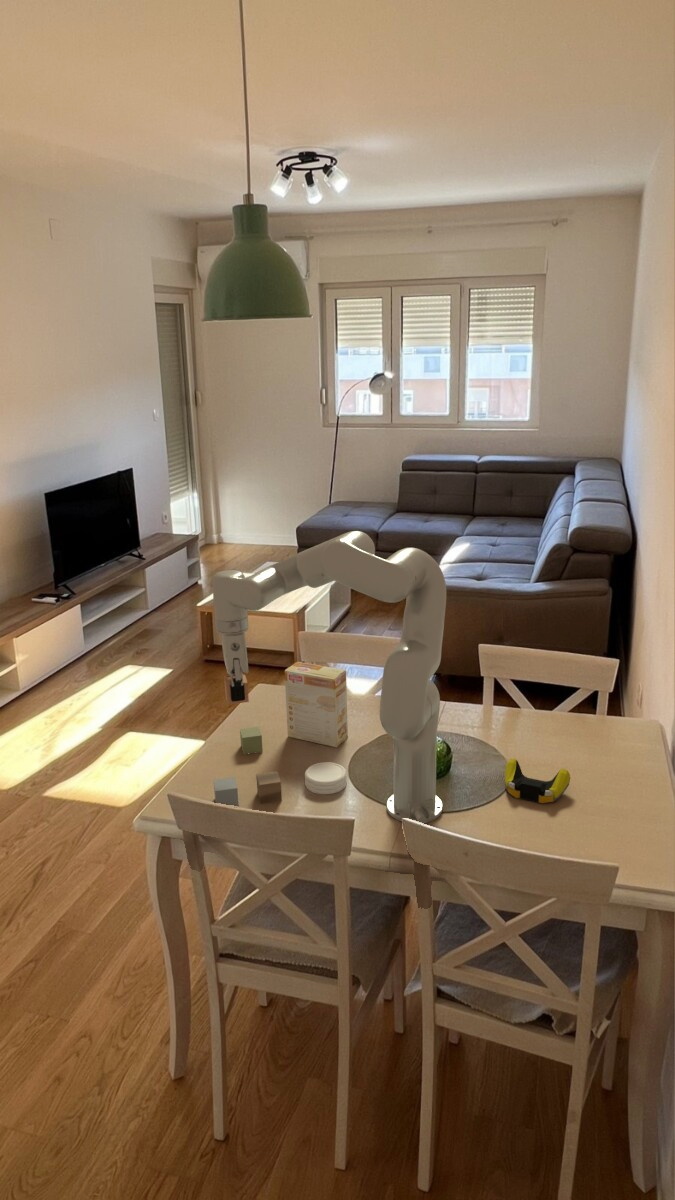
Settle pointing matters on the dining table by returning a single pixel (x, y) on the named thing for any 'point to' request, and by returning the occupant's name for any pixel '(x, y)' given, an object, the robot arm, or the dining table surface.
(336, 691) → the coffeecake box
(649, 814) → the dining table surface
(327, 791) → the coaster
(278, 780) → the walnut block
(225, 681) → the terracotta block
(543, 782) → the gaming controller
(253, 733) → the green cube
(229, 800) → the slate-grey block
